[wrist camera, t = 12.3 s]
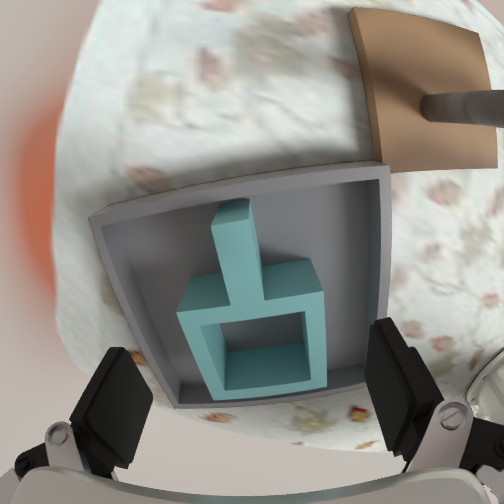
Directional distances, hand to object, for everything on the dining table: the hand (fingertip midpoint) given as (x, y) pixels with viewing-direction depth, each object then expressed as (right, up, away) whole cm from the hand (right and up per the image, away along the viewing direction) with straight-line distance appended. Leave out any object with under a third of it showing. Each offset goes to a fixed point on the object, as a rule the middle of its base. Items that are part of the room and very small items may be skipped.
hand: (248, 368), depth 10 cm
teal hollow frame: (0, +1, +12) cm, 12 cm away
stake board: (+14, +16, +6) cm, 22 cm away
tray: (0, 0, +13) cm, 13 cm away
